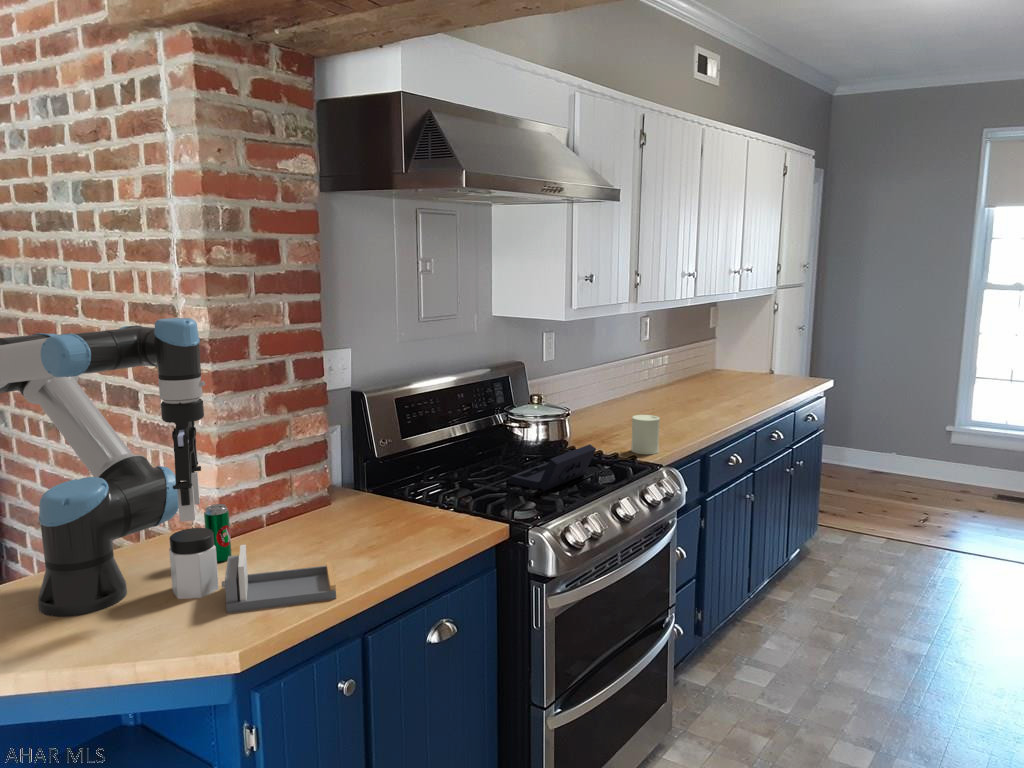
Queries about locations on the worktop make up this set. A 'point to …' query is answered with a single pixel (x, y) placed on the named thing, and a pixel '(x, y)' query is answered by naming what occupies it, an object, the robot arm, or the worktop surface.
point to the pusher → (242, 574)
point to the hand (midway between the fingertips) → (190, 512)
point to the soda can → (219, 529)
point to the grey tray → (278, 587)
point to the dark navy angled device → (556, 470)
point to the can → (645, 434)
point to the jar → (193, 563)
